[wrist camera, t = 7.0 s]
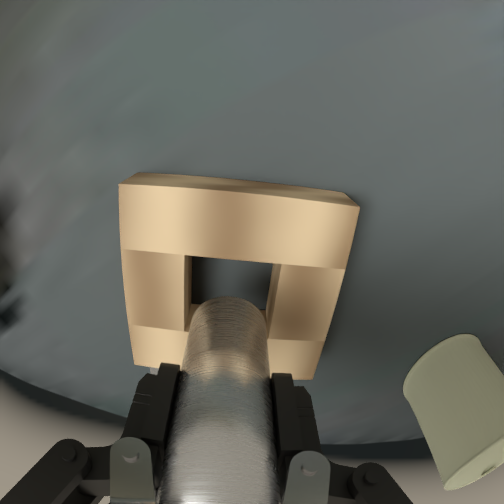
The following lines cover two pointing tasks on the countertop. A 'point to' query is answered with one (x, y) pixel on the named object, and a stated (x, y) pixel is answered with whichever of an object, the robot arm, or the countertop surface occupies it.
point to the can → (459, 408)
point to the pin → (222, 412)
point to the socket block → (237, 248)
